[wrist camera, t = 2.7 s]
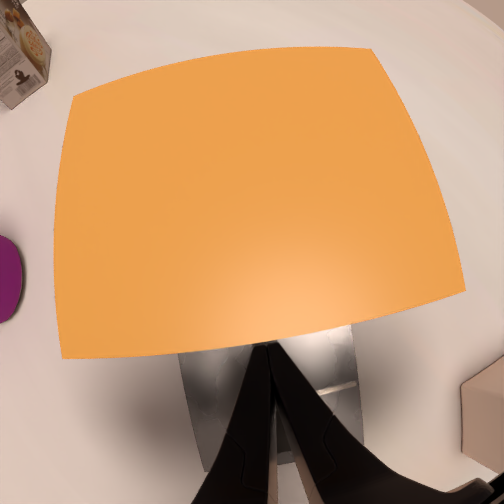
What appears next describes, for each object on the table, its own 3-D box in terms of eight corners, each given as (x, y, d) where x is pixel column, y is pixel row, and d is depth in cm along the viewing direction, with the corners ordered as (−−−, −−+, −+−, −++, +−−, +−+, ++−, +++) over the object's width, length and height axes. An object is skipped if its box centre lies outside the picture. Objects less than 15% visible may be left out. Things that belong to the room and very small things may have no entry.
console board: (356, 435, 16) (364, 445, 14) (208, 460, 16) (204, 472, 14) (301, 140, 20) (304, 127, 18) (164, 163, 20) (157, 151, 18)
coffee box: (17, 74, 24) (-35, 8, 9) (52, 48, 25) (5, -26, 9) (10, 112, 23) (-60, 39, 7) (49, 82, 23) (-16, -5, 7)
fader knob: (306, 309, 16) (465, 290, 3) (214, 324, 16) (62, 359, 3) (292, 238, 16) (371, 49, 4) (204, 253, 16) (73, 96, 4)
